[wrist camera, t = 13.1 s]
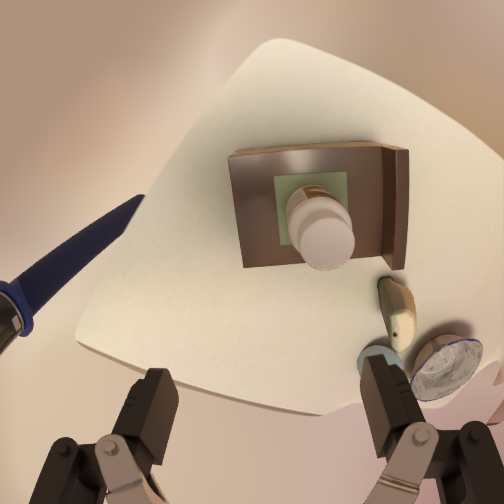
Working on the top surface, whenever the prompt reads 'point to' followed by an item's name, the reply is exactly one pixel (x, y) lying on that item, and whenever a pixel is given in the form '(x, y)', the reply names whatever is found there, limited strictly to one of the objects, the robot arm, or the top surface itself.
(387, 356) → the gemstone
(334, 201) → the pill bottle
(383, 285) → the beige rounded block
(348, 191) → the shelf
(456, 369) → the bowl
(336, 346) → the top surface
